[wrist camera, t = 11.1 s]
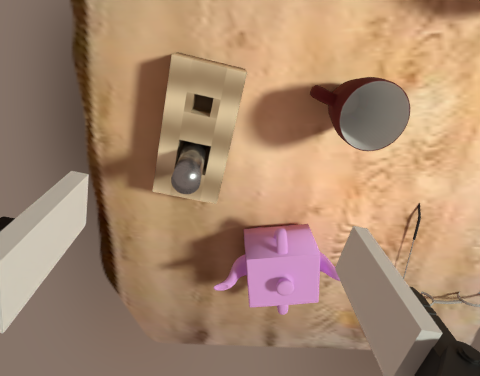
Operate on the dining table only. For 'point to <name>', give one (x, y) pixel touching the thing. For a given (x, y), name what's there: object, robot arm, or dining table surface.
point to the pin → (189, 168)
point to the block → (198, 121)
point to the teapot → (280, 267)
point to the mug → (366, 111)
